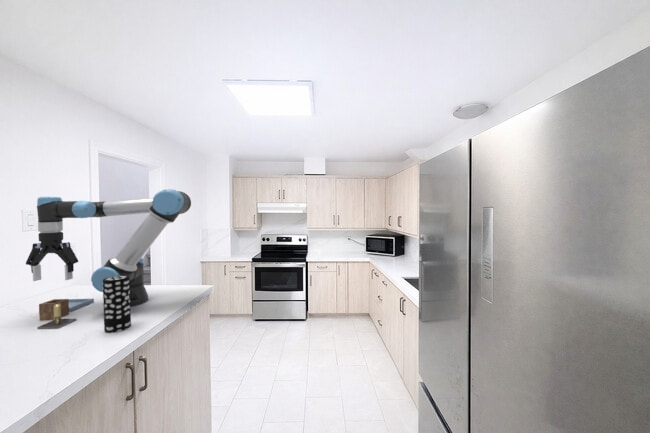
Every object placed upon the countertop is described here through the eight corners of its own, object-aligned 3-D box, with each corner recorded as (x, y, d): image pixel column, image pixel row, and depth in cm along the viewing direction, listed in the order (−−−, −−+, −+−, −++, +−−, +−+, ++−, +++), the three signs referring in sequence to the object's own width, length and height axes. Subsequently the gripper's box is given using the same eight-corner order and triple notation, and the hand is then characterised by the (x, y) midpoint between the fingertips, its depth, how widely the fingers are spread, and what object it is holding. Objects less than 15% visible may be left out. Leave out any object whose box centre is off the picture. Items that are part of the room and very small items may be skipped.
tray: (93, 302, 134) (93, 298, 134) (69, 312, 121) (69, 308, 121) (67, 303, 134) (67, 299, 134) (40, 313, 121) (40, 308, 121)
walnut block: (68, 314, 119) (68, 298, 119) (54, 320, 113) (54, 303, 112) (54, 314, 119) (53, 299, 119) (39, 320, 112) (38, 304, 112)
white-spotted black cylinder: (129, 321, 110) (127, 274, 109) (132, 327, 104) (131, 277, 103) (103, 328, 104) (101, 278, 103) (105, 335, 98) (103, 282, 98)
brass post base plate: (76, 320, 112) (75, 301, 112) (58, 328, 104) (57, 307, 104) (57, 320, 112) (56, 301, 112) (37, 329, 104) (36, 308, 104)
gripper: (87, 230, 119) (89, 276, 119) (31, 231, 118) (33, 278, 119) (72, 232, 111) (74, 281, 112) (11, 233, 111) (14, 283, 111)
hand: (53, 280), depth 115 cm, fingers open, 13 cm apart
